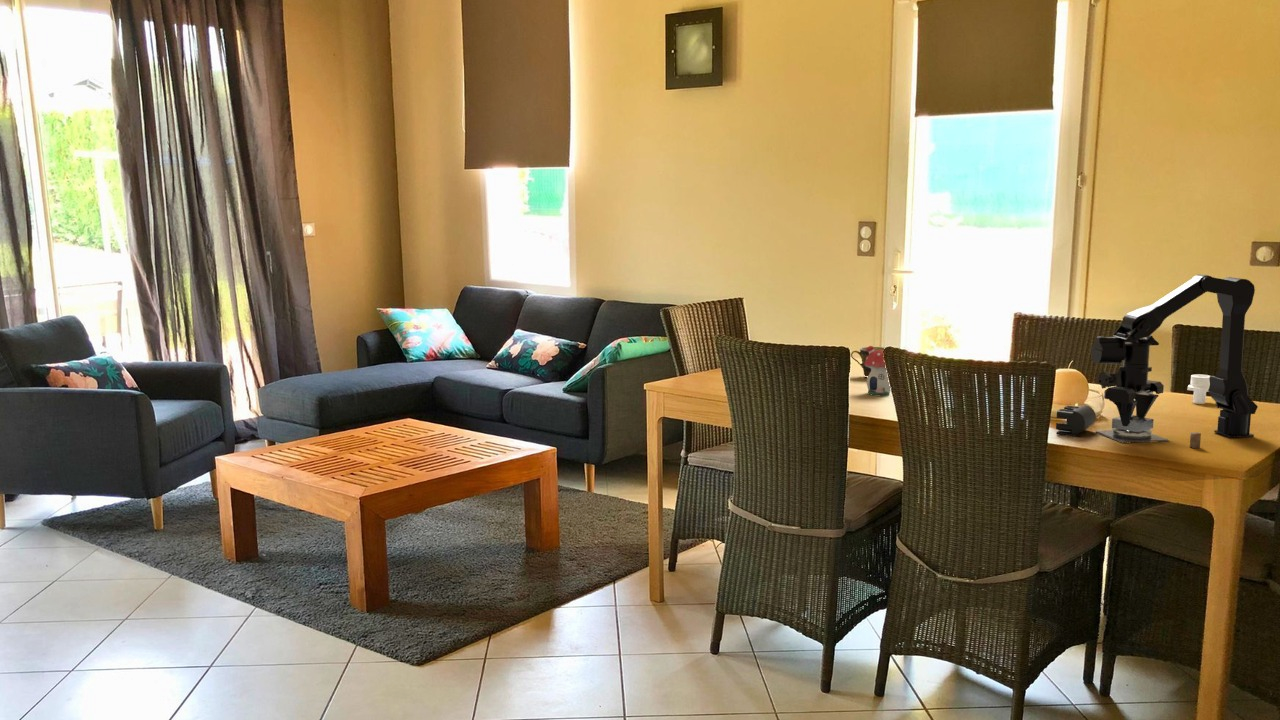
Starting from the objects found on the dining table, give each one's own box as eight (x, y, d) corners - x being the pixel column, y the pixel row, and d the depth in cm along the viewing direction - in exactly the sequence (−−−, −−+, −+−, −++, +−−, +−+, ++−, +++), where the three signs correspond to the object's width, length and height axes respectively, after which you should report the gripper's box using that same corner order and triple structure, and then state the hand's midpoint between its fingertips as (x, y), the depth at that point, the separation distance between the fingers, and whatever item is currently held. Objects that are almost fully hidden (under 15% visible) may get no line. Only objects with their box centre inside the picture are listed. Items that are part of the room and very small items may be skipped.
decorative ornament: (860, 393, 321) (861, 345, 318) (875, 390, 324) (876, 344, 322) (881, 397, 313) (882, 349, 311) (897, 395, 316) (898, 347, 314)
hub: (1138, 430, 264) (1140, 410, 263) (1168, 441, 252) (1169, 419, 251) (1095, 432, 262) (1096, 412, 261) (1123, 443, 250) (1124, 421, 250)
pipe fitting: (1217, 404, 295) (1219, 377, 294) (1192, 404, 295) (1194, 377, 294) (1205, 400, 301) (1207, 373, 300) (1181, 400, 301) (1183, 374, 300)
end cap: (1084, 438, 256) (1085, 412, 255) (1055, 434, 261) (1056, 409, 260) (1095, 431, 264) (1096, 405, 263) (1067, 427, 268) (1068, 402, 267)
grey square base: (1125, 423, 261) (1126, 414, 261) (1153, 428, 256) (1153, 418, 256) (1111, 427, 257) (1112, 418, 257) (1139, 432, 252) (1139, 422, 251)
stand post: (1195, 446, 247) (1196, 432, 246) (1202, 448, 244) (1203, 434, 244) (1187, 446, 246) (1188, 432, 246) (1193, 448, 244) (1194, 434, 244)
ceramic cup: (887, 375, 352) (887, 346, 351) (891, 380, 342) (892, 351, 341) (849, 375, 353) (849, 346, 352) (852, 380, 343) (852, 351, 342)
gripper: (1123, 355, 266) (1119, 414, 268) (1085, 363, 255) (1082, 424, 257) (1166, 360, 257) (1162, 420, 260) (1129, 368, 246) (1125, 431, 248)
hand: (1132, 424), depth 256 cm, fingers closed on grey square base, 7 cm apart
